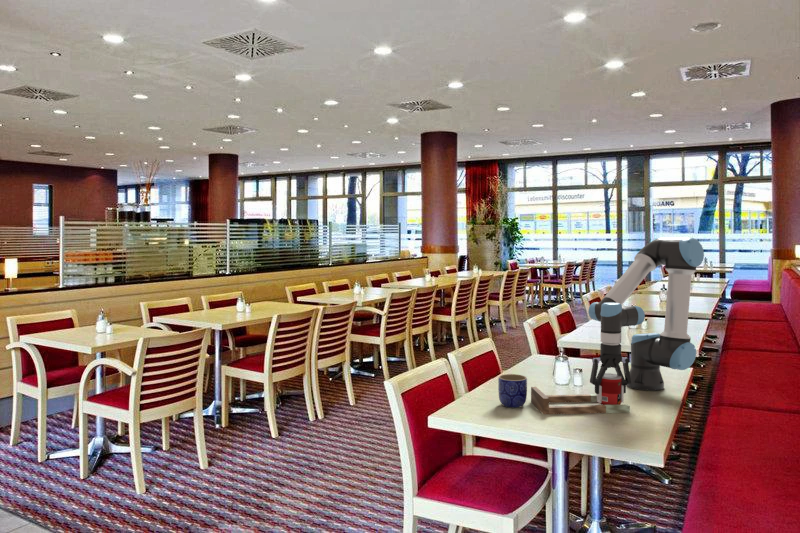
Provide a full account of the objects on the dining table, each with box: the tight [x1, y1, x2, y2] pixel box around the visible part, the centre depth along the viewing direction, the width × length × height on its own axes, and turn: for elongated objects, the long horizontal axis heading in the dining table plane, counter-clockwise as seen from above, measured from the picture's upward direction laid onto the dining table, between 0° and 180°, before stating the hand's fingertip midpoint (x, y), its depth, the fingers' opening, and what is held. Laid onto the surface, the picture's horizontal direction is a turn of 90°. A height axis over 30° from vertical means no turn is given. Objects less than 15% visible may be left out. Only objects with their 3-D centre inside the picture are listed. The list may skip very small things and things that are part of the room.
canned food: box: [599, 372, 622, 405], centre depth 233 cm, size 8×8×11 cm
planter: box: [497, 373, 528, 409], centre depth 235 cm, size 11×11×11 cm
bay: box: [530, 386, 631, 416], centre depth 232 cm, size 32×17×6 cm, turn 93°
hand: (610, 401), depth 233 cm, fingers closed on canned food, 8 cm apart
